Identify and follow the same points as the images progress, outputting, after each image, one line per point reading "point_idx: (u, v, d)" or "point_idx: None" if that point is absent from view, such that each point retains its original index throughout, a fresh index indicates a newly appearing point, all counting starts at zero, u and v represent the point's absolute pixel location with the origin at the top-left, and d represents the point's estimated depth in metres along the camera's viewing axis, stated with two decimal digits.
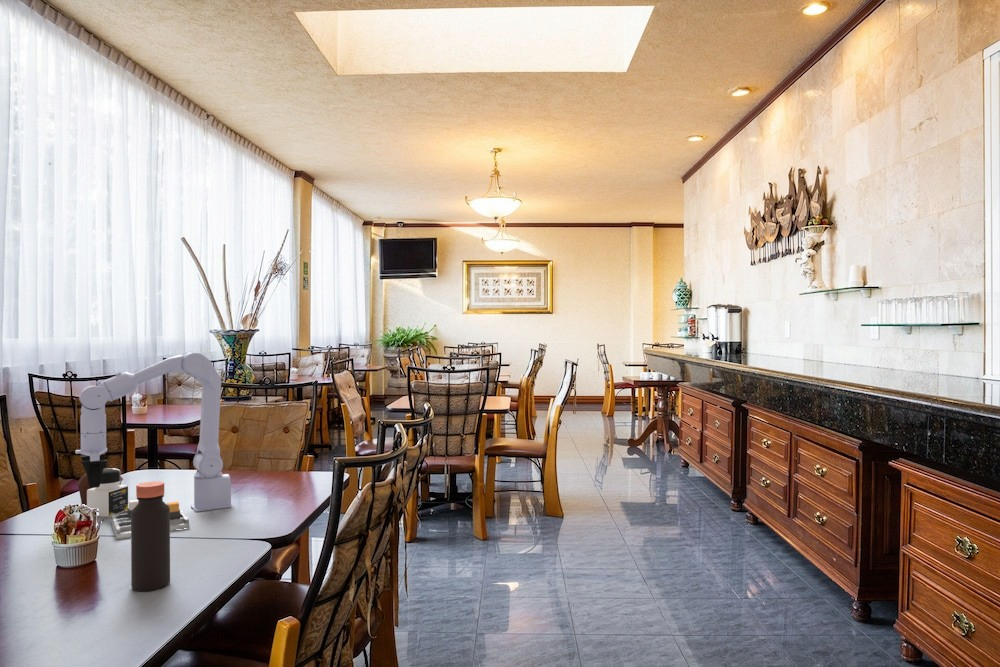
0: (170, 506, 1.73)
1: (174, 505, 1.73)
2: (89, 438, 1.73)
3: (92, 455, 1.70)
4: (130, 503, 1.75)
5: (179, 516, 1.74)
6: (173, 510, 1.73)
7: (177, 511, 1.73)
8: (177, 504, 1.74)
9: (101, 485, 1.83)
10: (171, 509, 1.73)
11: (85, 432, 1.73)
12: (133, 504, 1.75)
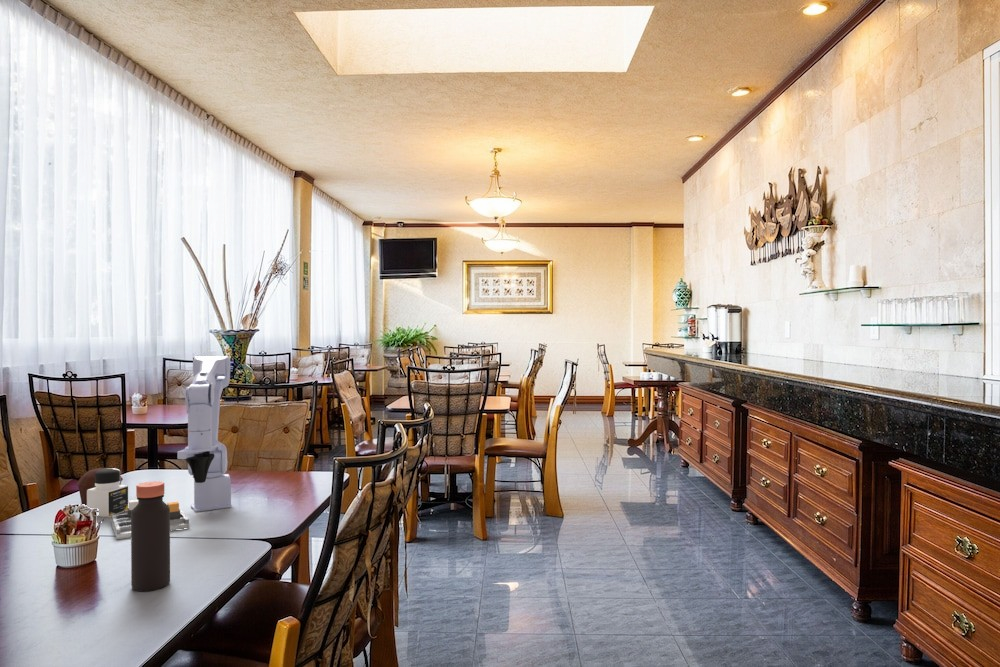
0: (170, 506, 1.73)
1: (174, 505, 1.73)
2: (190, 435, 1.75)
3: (178, 453, 1.70)
4: (130, 503, 1.75)
5: (179, 516, 1.74)
6: (173, 510, 1.73)
7: (177, 511, 1.73)
8: (177, 504, 1.74)
9: (101, 485, 1.83)
10: (171, 509, 1.73)
11: (207, 429, 1.76)
12: (133, 504, 1.75)
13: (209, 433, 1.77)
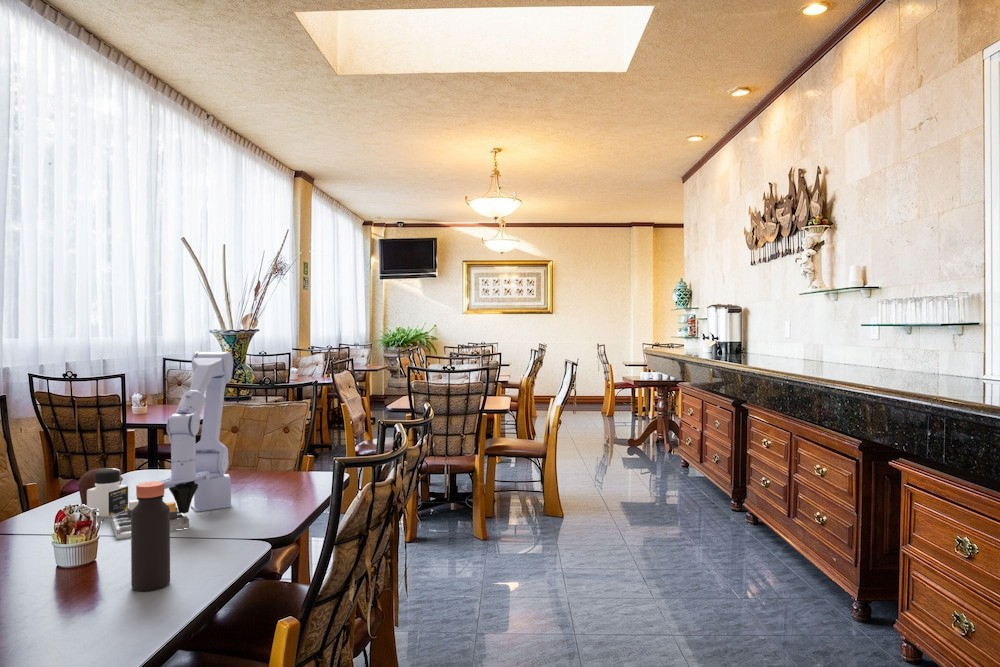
0: None
1: (171, 505, 1.73)
2: (172, 465, 1.73)
3: None
4: (130, 503, 1.75)
5: (176, 516, 1.73)
6: (170, 510, 1.73)
7: (174, 511, 1.73)
8: (174, 504, 1.73)
9: (101, 485, 1.83)
10: None
11: (189, 459, 1.74)
12: (133, 504, 1.75)
13: (191, 463, 1.74)
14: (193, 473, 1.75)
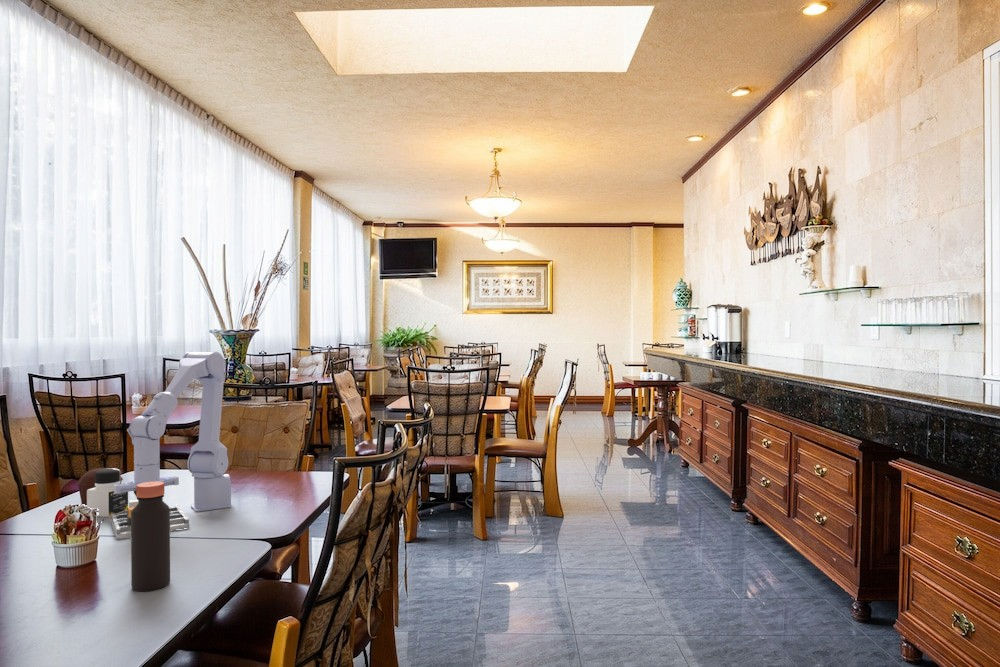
0: None
1: None
2: None
3: (114, 487, 1.66)
4: (130, 503, 1.75)
5: None
6: None
7: None
8: None
9: (101, 485, 1.83)
10: None
11: (148, 463, 1.68)
12: (133, 504, 1.75)
13: (150, 468, 1.69)
14: (154, 478, 1.69)
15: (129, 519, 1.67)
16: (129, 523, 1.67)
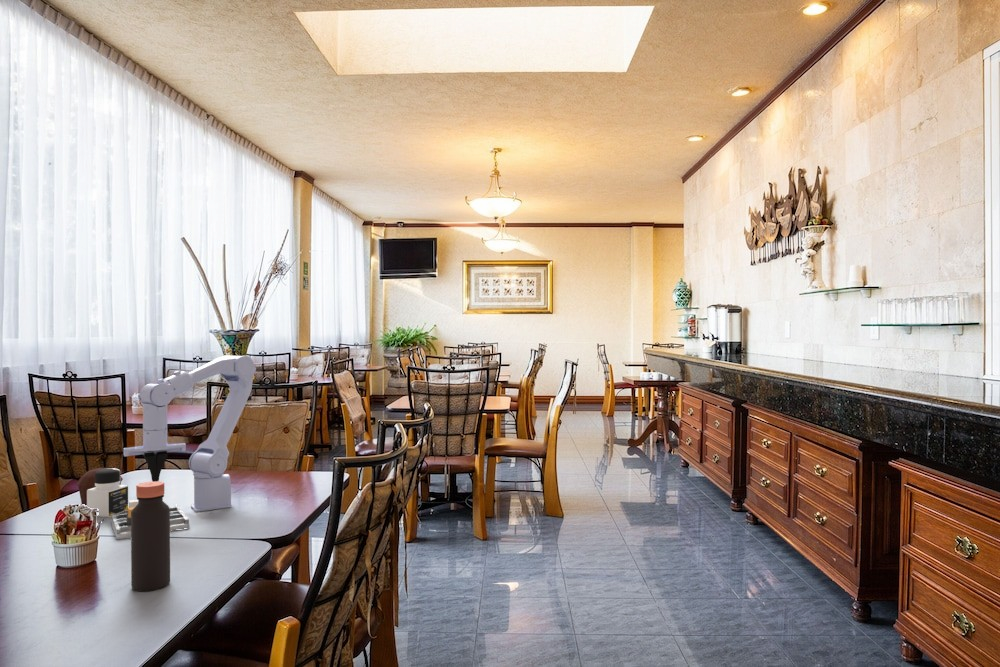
0: None
1: None
2: None
3: None
4: (130, 503, 1.75)
5: None
6: None
7: None
8: None
9: (101, 485, 1.83)
10: None
11: (152, 429, 1.76)
12: (133, 504, 1.75)
13: (156, 433, 1.76)
14: (160, 443, 1.77)
15: (129, 519, 1.67)
16: (129, 523, 1.67)
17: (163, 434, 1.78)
